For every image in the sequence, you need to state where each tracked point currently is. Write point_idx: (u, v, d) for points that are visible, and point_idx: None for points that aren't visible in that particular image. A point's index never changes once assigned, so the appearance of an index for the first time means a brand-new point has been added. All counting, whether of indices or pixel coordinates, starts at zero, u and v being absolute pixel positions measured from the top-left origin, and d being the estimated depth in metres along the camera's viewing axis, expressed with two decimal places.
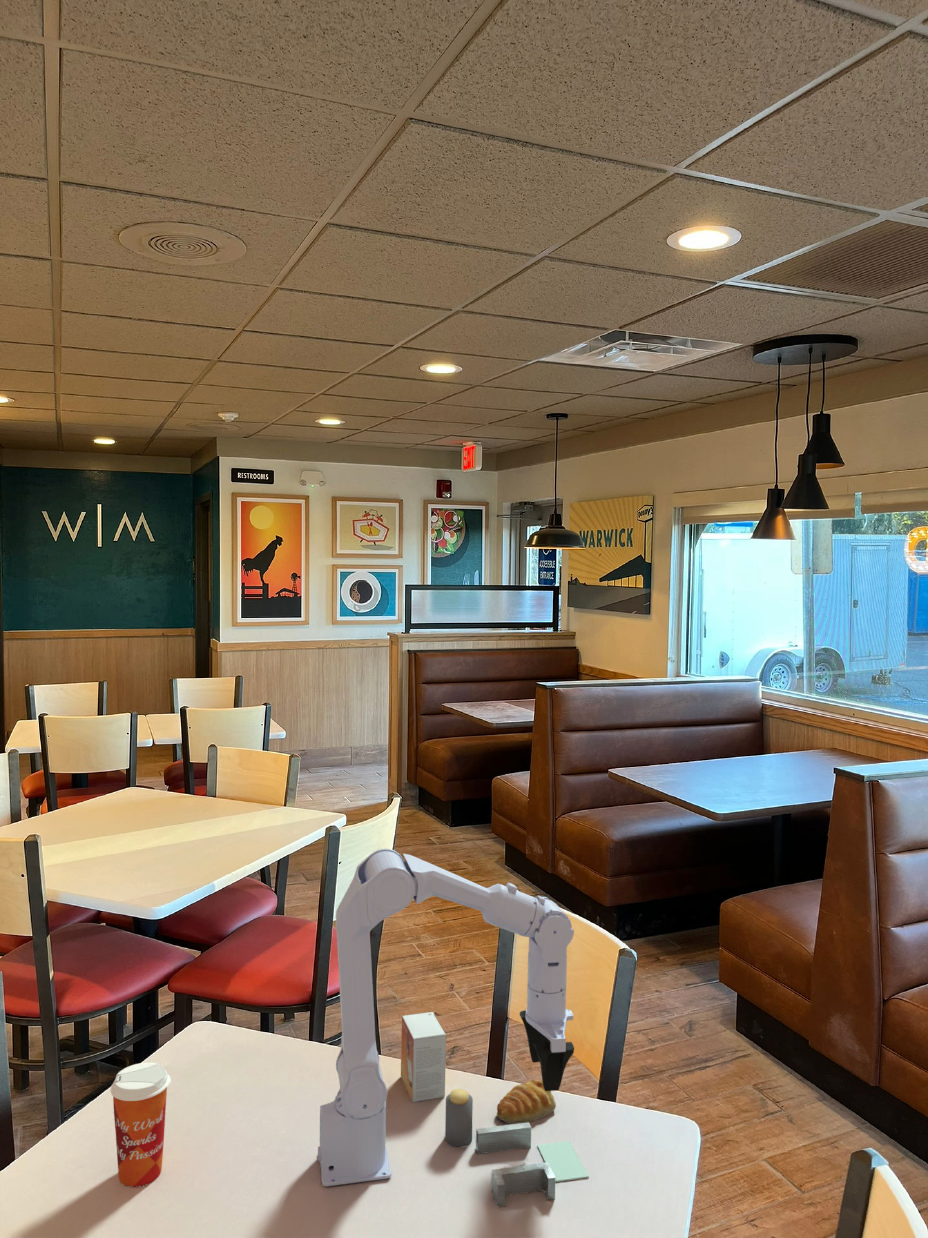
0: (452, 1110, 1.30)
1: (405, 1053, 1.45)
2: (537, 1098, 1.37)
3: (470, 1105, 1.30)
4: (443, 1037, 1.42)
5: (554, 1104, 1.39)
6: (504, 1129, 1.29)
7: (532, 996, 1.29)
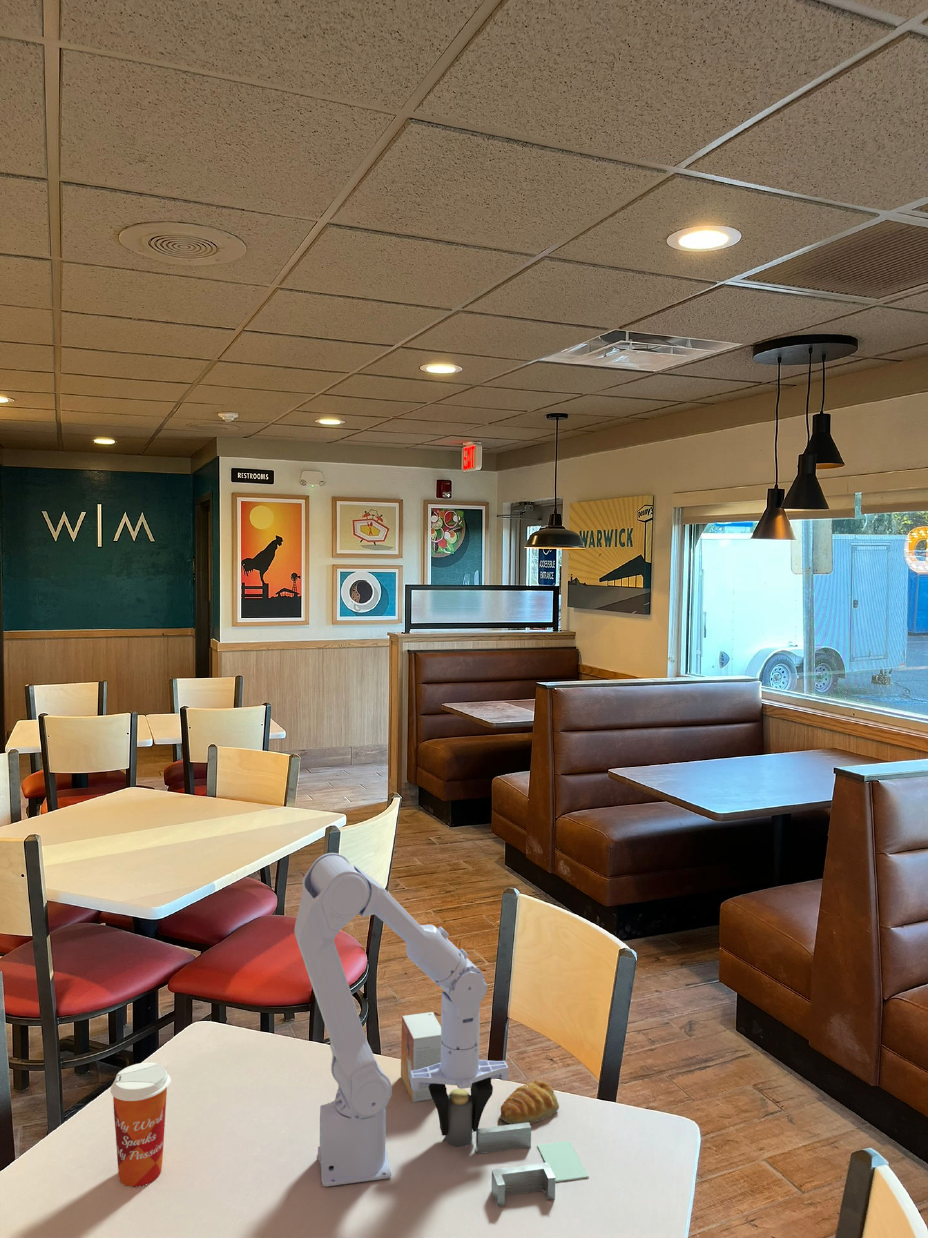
0: (452, 1110, 1.30)
1: (405, 1053, 1.45)
2: (540, 1099, 1.37)
3: (470, 1105, 1.30)
4: None
5: (557, 1105, 1.38)
6: (504, 1129, 1.29)
7: None
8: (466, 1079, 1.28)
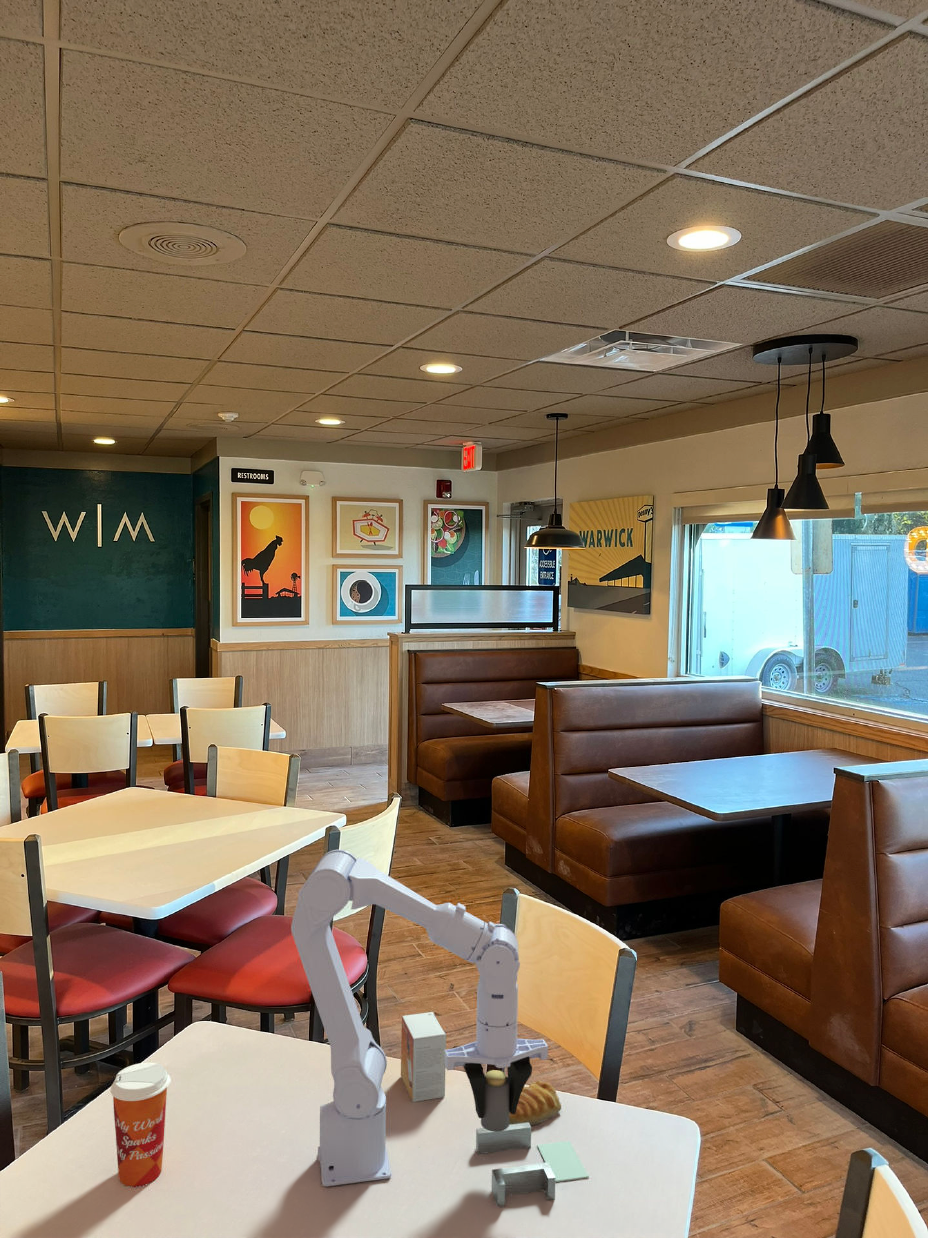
0: (489, 1092, 1.23)
1: (405, 1053, 1.45)
2: (543, 1100, 1.37)
3: (508, 1086, 1.24)
4: (443, 1037, 1.42)
5: (560, 1105, 1.38)
6: None
7: None
8: (504, 1058, 1.21)
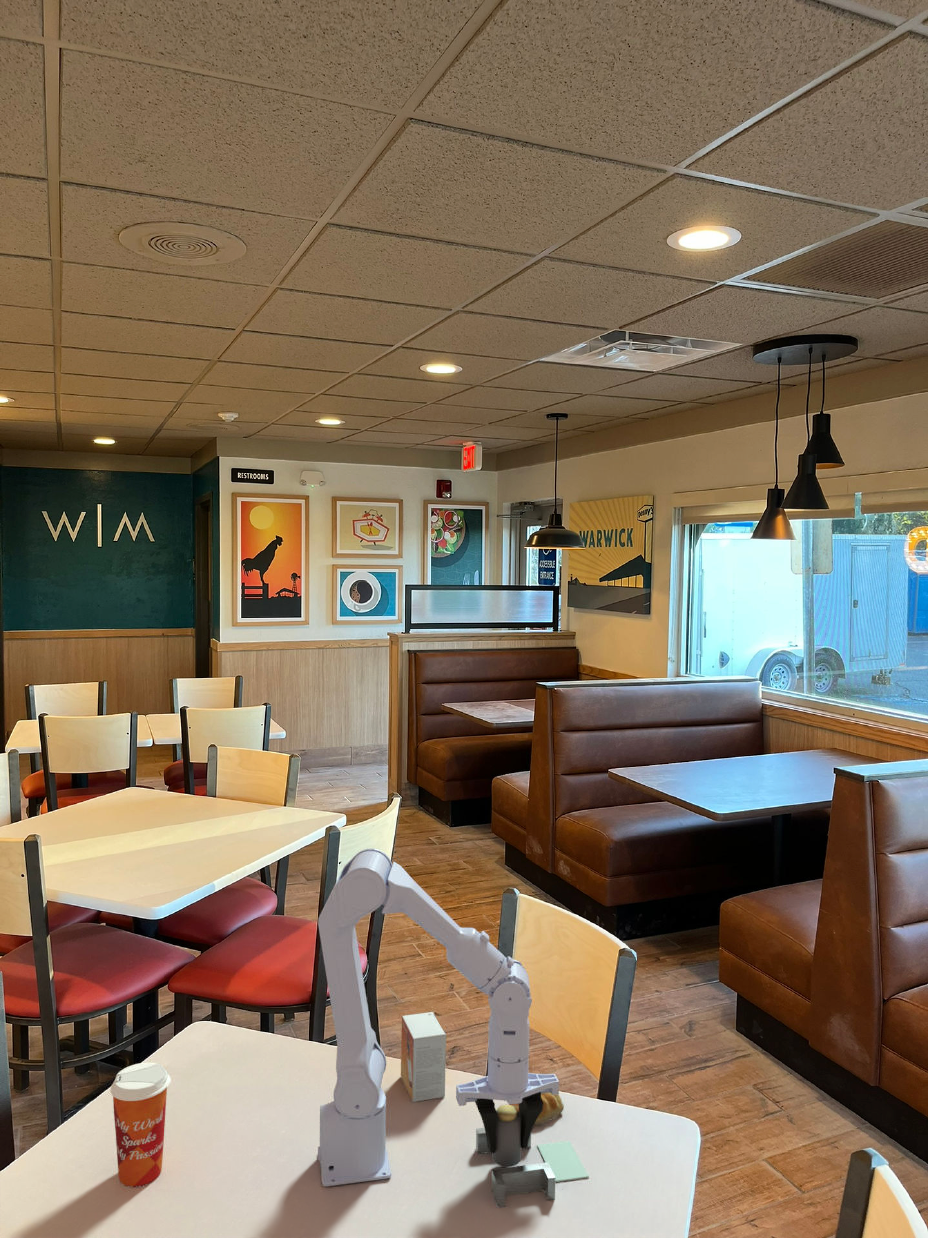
0: (501, 1128, 1.23)
1: (405, 1053, 1.45)
2: (546, 1101, 1.37)
3: (519, 1121, 1.24)
4: (443, 1037, 1.42)
5: (562, 1106, 1.38)
6: None
7: None
8: (516, 1094, 1.22)
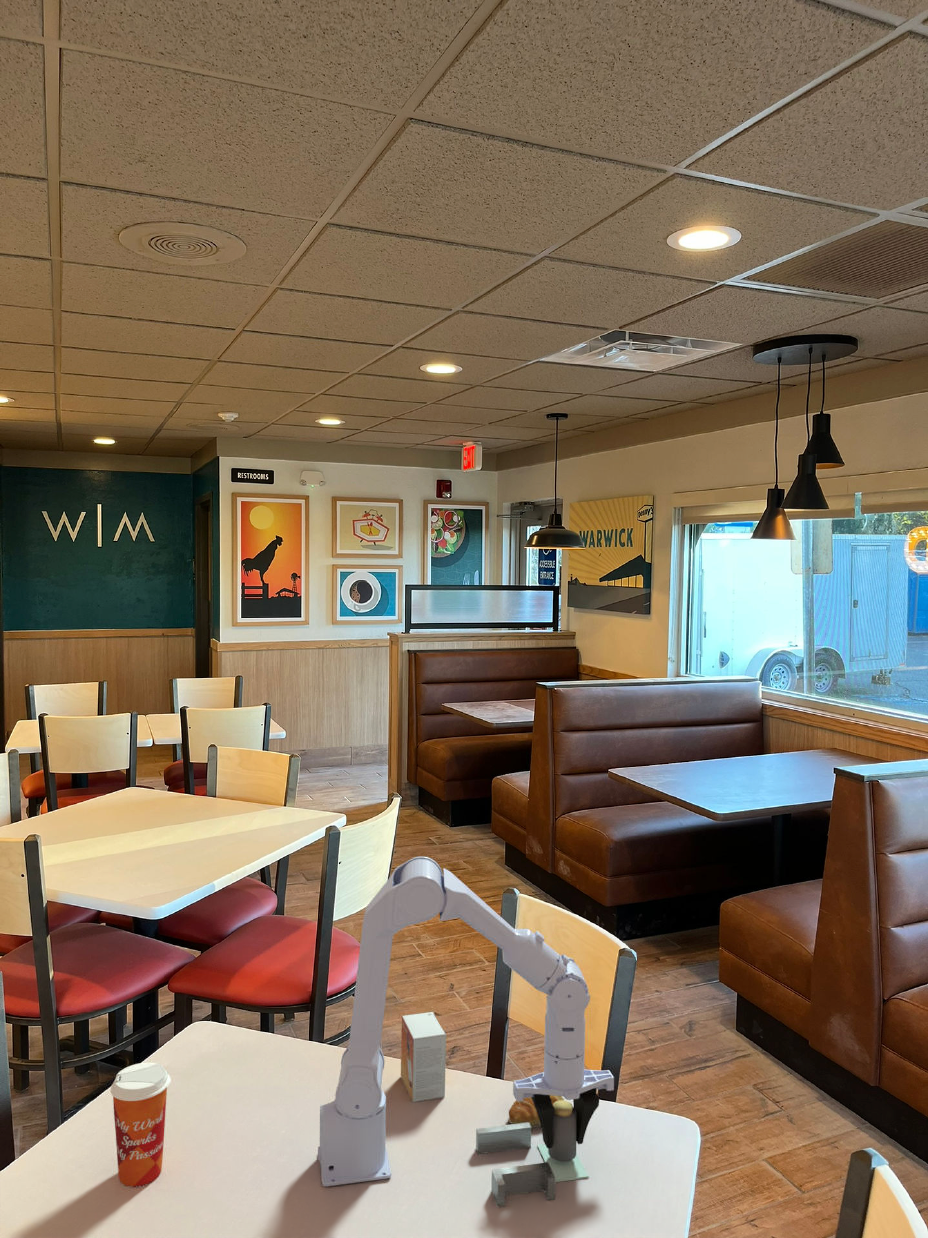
0: (557, 1123, 1.25)
1: (405, 1053, 1.45)
2: None
3: (575, 1117, 1.26)
4: (443, 1037, 1.42)
5: None
6: (504, 1129, 1.29)
7: None
8: (573, 1090, 1.23)
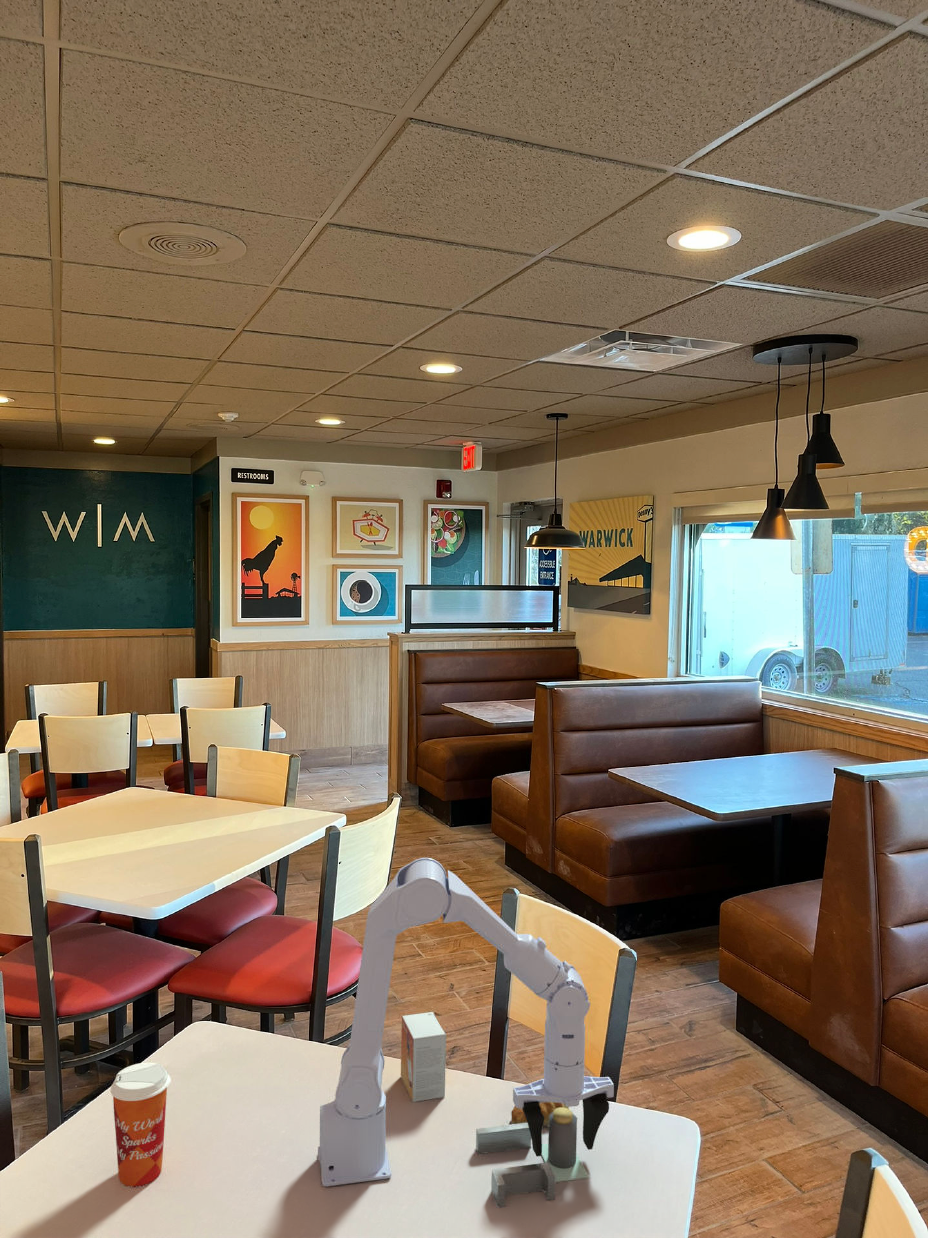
0: (558, 1130, 1.25)
1: (405, 1053, 1.45)
2: (551, 1102, 1.36)
3: (575, 1124, 1.26)
4: (443, 1037, 1.42)
5: (567, 1107, 1.38)
6: (504, 1129, 1.29)
7: None
8: (573, 1097, 1.24)
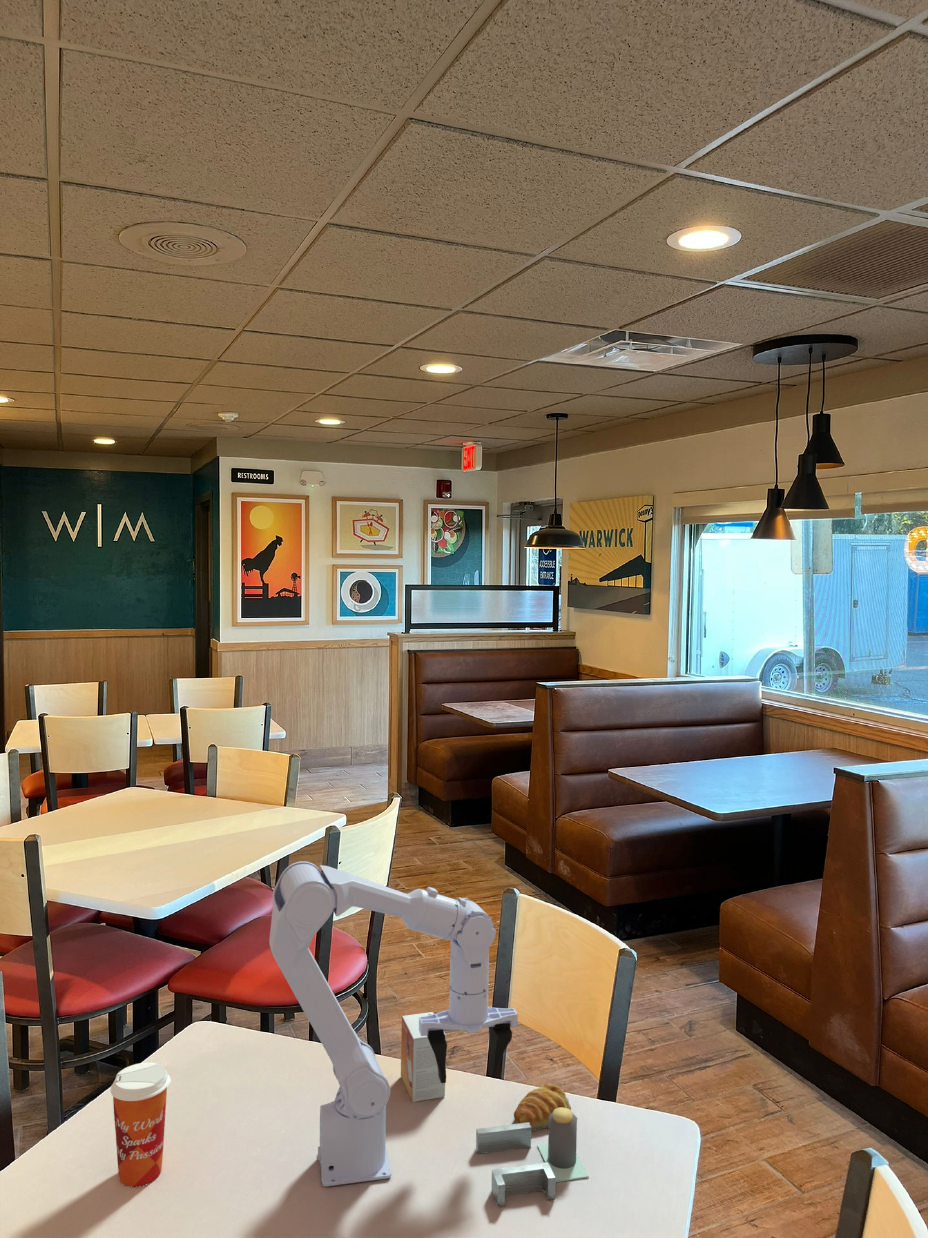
0: (558, 1130, 1.25)
1: (405, 1053, 1.45)
2: (554, 1103, 1.36)
3: (575, 1124, 1.26)
4: None
5: (569, 1107, 1.38)
6: (504, 1129, 1.29)
7: None
8: (475, 1024, 1.27)
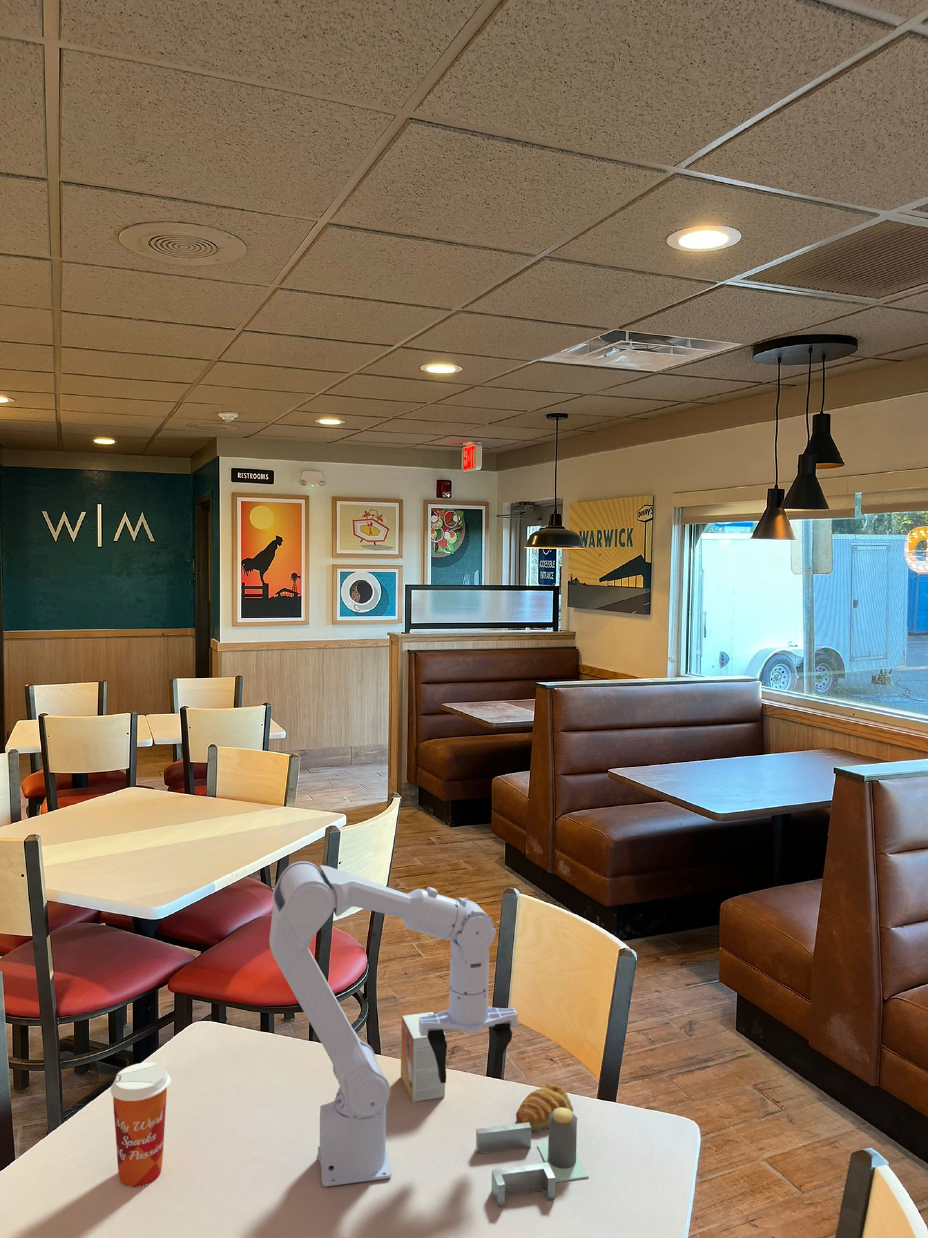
0: (558, 1130, 1.25)
1: (405, 1053, 1.45)
2: (556, 1103, 1.36)
3: (575, 1124, 1.26)
4: None
5: (571, 1108, 1.38)
6: (504, 1129, 1.29)
7: None
8: (475, 1024, 1.27)
